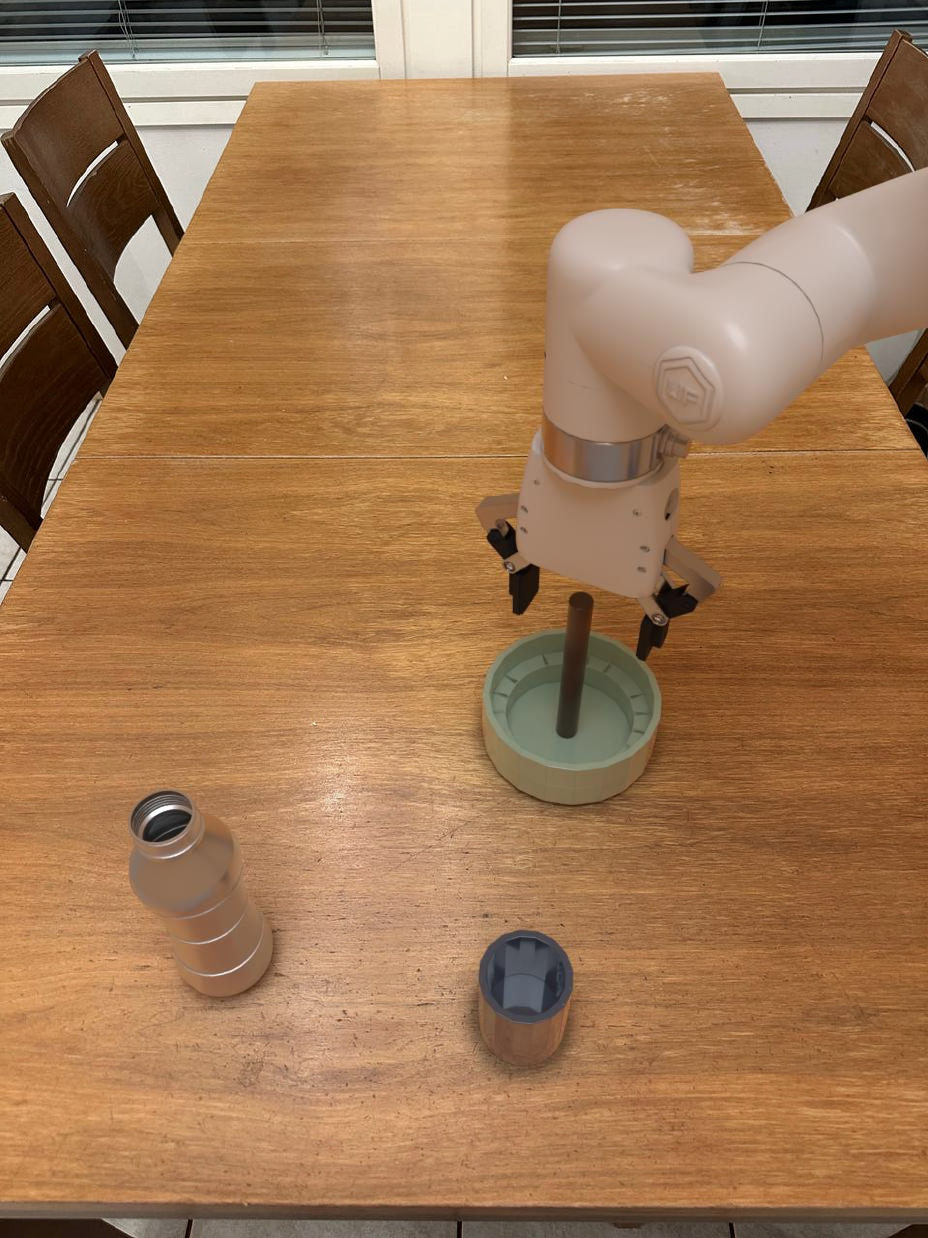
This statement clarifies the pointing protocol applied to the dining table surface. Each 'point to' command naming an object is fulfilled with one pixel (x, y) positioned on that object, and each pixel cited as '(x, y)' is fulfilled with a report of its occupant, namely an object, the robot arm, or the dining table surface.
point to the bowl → (607, 729)
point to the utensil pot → (524, 996)
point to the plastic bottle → (198, 893)
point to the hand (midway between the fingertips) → (585, 624)
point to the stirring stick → (574, 663)
